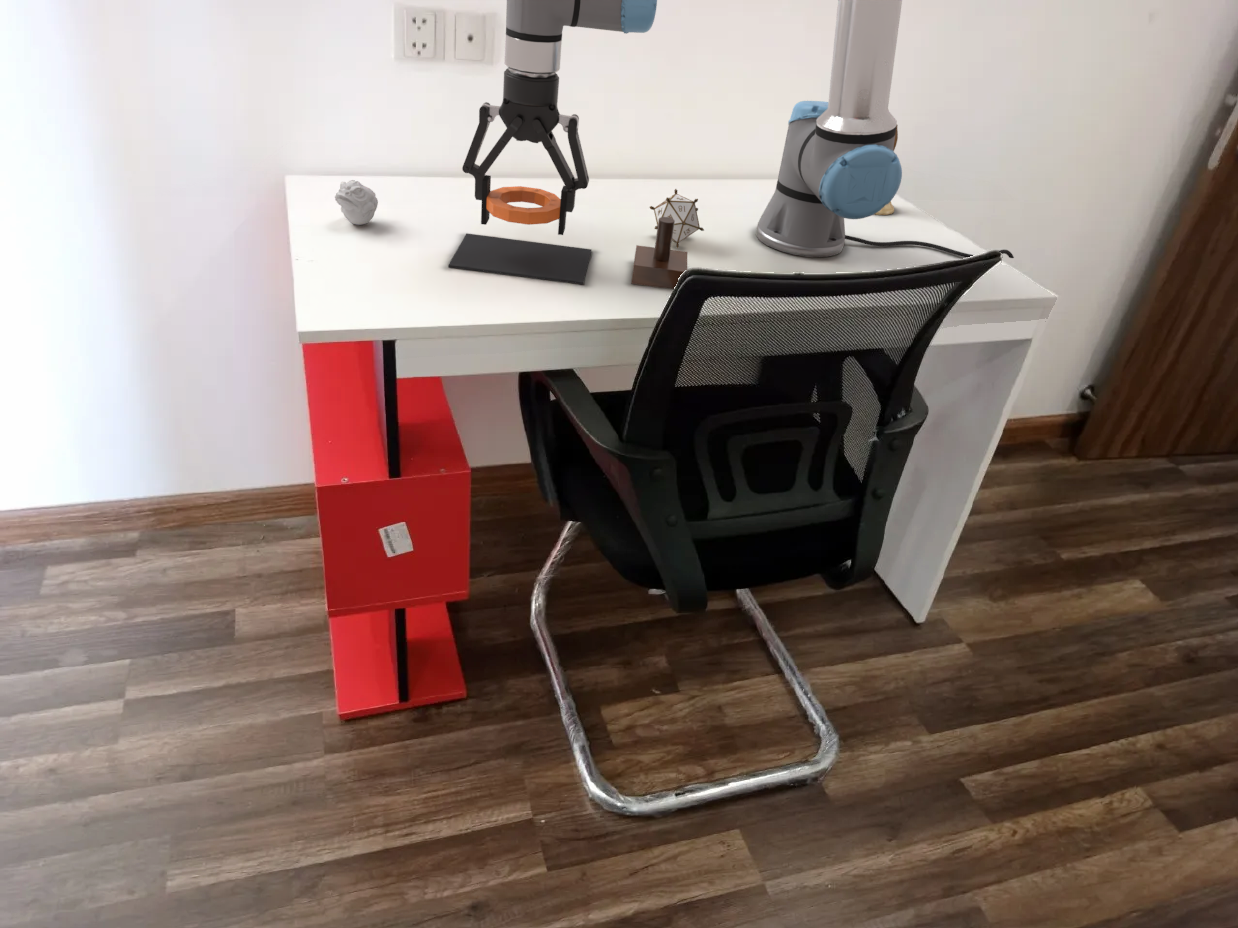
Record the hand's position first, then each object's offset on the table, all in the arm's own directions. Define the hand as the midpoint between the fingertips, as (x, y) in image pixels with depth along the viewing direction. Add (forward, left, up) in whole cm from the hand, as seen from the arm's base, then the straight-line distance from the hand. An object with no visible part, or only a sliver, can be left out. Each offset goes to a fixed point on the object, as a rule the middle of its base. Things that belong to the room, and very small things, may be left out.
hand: (523, 226), depth 136 cm
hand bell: (-62, -48, -5) cm, 78 cm away
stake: (-21, 0, -5) cm, 22 cm away
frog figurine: (+27, -6, -5) cm, 28 cm away
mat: (0, 0, -5) cm, 5 cm away
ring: (0, 0, +2) cm, 2 cm away
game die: (-23, -16, -5) cm, 28 cm away
